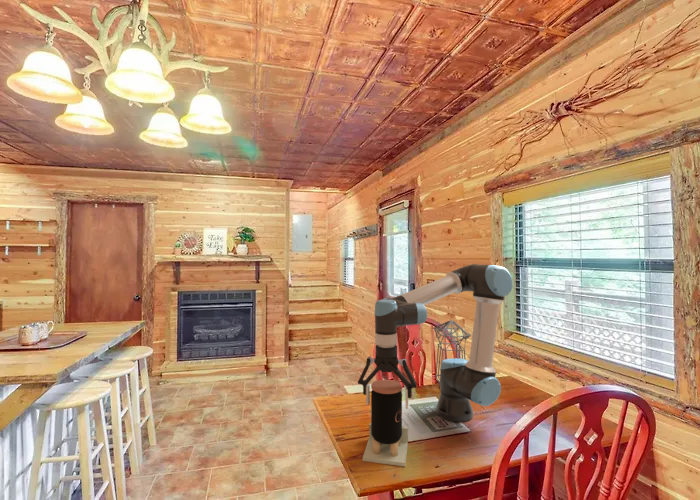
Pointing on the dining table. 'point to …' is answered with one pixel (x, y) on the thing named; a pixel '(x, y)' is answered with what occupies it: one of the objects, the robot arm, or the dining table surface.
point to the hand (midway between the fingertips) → (387, 405)
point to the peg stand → (387, 450)
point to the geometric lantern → (450, 340)
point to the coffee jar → (386, 411)
